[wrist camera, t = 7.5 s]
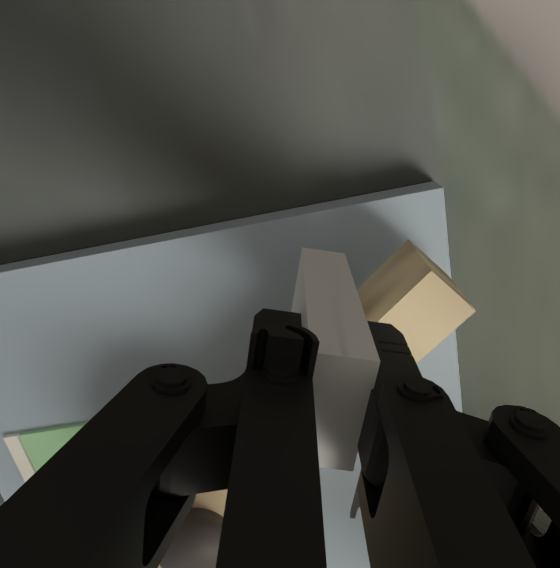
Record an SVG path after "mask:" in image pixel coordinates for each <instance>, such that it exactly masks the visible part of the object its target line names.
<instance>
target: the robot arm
mask: <svg viewBox="0 0 560 568" xmlns="http://www.w3.org/2000/svg"><path fill="white" fill-rule="evenodd" d="M358 452H359V457H360V463H361V471H360V475H359V479H358V483H357V487H356V490H355V494H354V498H353V502H352V506H351V511H350V518H354V519H355V517H356V513H357V510H358V508H359V507H360V510H361V516H362V522H363V527H364V533H365V539H366V545H367V551H368V557H369V562H370V568H560V427H559V426H558V425H557V424H555V423H554V422H552V421H551V420H550V419H548V418H547V417H545V416H543V415H541V414H539V413H537V412H536V411H535V410H532V409H529V408H526V407H522V406H513V405H503V406H498V407H496V408H495V409H494V410H493V411H492V413H491V416H490V419H489V421H486V420H483V419H480V418H476V417H473V416H470V415H467V414H464V413H461V412H459V411H456V409H455V407H454V405H453V403H452V402H451V400H450V398H449V396H448V395H447V393H446V392H445V391H444V390H443V388H441V387H440V386H438V385H437V384H435V383H434V382H432V381H430V380H428V379H425V378H423V377H422V375H421V373H420V370H419V368H418V366H417V364H416V362H415V359H414V357H413V356H412V353H411V351H410V348H409V347H408V344H407V342H406V340H405V338H404V335H403V334H402V333H401V332H400V331H399V330H398V329H396V328H395V327H394V326H393V325H392V324H388V323H380V322H373V321H367V319H366V316H365V313H364V310H363V307H362V304H361V301H360V298H359V295H358V292H357V289H356V286H355V283H354V280H353V277H352V274H351V271H350V268H349V265H348V262H347V259H346V256H345V253H338V252H331V251H324V250H317V249H310V248H303V247H302V249H301V255H300V261H299V267H298V274H297V280H296V286H295V292H294V298H293V304H292V310H291V312H288V311H280V310H273V309H265V308H263V309H262V310H261V311H259V312H258V313H257V314H256V315H255V316H254V321H253V328H252V332H251V336H250V343H249V351H248V358H247V366H246V369H245V371H244V373H243V374H242V375H241V376H239V377H237V378H236V379H234V380H231V381H228V382H223V383H217V384H207V381H206V378H205V376H204V375H203V374H202V373H200V372H199V371H198V370H196V369H194V368H192V367H189V366H187V365H181V364H176V363H169V364H168V363H165V364H158V365H155V366H151V367H148V368H146V369H144V370H143V371H141V372H140V373H138V374H137V375H136V376H135V377H134V378H133V379H132V380H131V381H130V382H129V383H128V384H127V385H126V386H125V387H124V388H123V389H122V390H121V391H119V392H118V393H117V394H116V395H115V396H114V397H113V398H112V399H111V400H110V401H109V402H108V403H107V404H106V405H105V406H104V407H103V408H102V409H101V410H100V411H99V412H98V413H97V414H96V415H95V416H94V417H93V418H91V419H90V420H89V421H88V422H87V423H86V424H85V425H84V426H83V427H82V428H81V429H80V430H79V431H78V432H77V433H76V434H75V435H74V436H73V437H72V438H71V439H70V440H69V441H68V442H67V443H66V444H65V445H63V446H62V447H61V448H60V449H59V450H58V451H57V452H56V453H55V454H54V455H53V456H52V457H51V458H50V459H49V460H48V461H47V462H46V463H45V464H44V465H43V466H42V467H41V468H40V469H39V470H38V471H37V472H35V473H34V474H33V475H32V476H31V477H30V478H29V479H28V480H27V481H26V482H25V483H24V484H23V485H22V486H21V487H20V488H19V489H18V490H17V491H16V492H15V493H14V494H13V495H12V496H11V497H10V498H9V499H7V500H6V501H5V502H4V503H3V504H2V505H1V506H0V568H158V566H159V564H160V563H161V561H162V559H163V557H164V556H165V554H166V552H167V550H168V548H169V547H170V545H171V543H172V541H173V540H174V538H175V536H176V534H177V532H178V531H179V529H180V527H181V525H182V524H183V522H184V520H185V518H186V516H187V515H188V513H189V511H190V509H191V508H192V506H193V504H194V501H195V498H196V494H199V493H206V492H213V491H219V490H226V489H228V490H227V496H226V503H225V509H224V516H223V522H222V529H221V535H220V542H219V548H218V555H217V561H216V568H327V563H326V550H325V537H324V523H323V510H322V497H321V484H320V470H319V467H320V468H328V469H337V470H345V471H353V470H354V466H355V462H356V458H357V454H358ZM539 506H540V507H541V508H542V509H543V511H544V512H545V513H546V514H547V515H548V516H549V517H550V519H551V520H552V521H551V524H550V526H549V528H548V530H547V532H546V533H545V535H544V534H542V533H541V532H540V531H539V530H537V528H536V527H535V526H534V525H533V523H532V522H533V520H534V517H535V515H536V513H537V511H538V508H539Z"/></svg>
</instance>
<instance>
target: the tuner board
mask: <svg viewBox="0 0 560 568" xmlns="http://www.w3.org/2000/svg"><path fill="white" fill-rule="evenodd" d="M408 239H409V240H410V241H411V242H412V243H414V244H415V245H416V246H417V247H418V248H419V249H420V250H421V251H422V252H423V253H425V254H426V255H427V256H428V257H429V258H430V259H431V260H432V261H433V262H434V263H436V264H437V265H438V266H439V267H440V268H441V269H442V270H443V271H444V272H445V273H446V274H447V275H448V276H449V277H450V279H451V272H450V260H449V248H448V236H447V224H446V213H445V201H444V189H443V187H442V186H440V185H439V184H438V183H436V182H435V181H432V182H427V183H421V184H416V185H411V186H406V187H401V188H396V189H390V190H385V191H380V192H375V193H370V194H365V195H359V196H354V197H349V198H344V199H339V200H334V201H328V202H323V203H318V204H313V205H308V206H303V207H297V208H292V209H287V210H282V211H277V212H272V213H266V214H261V215H256V216H251V217H246V218H241V219H235V220H230V221H225V222H220V223H215V224H210V225H204V226H199V227H194V228H189V229H184V230H179V231H173V232H168V233H163V234H158V235H153V236H148V237H142V238H137V239H132V240H127V241H122V242H117V243H111V244H106V245H101V246H96V247H91V248H86V249H80V250H75V251H70V252H65V253H60V254H55V255H49V256H44V257H39V258H34V259H29V260H24V261H18V262H13V263H8V264H3V265H0V493H1V495H2V497H3V499H4V501H6V500H7V499H9V498H10V497H11V496H12V495H13V494H14V493H15V492H16V491H17V490H18V489H19V488H20V487H21V486H22V485H23V484H24V483H25V482H26V481H27V480H28V479H29V478H30V477H31V476H32V475H33V474H34V473H35V472H37V471H38V470H39V469H40V468H41V467H42V466H43V465H44V464H45V463H46V462H47V461H48V460H49V459H50V458H51V457H52V456H53V455H54V454H55V453H56V452H57V451H58V450H59V449H60V448H61V447H62V446H63V445H65V444H66V443H67V442H68V441H69V440H70V439H71V438H72V437H73V436H74V435H75V434H76V433H77V432H78V431H79V430H80V429H81V428H82V427H83V426H84V425H85V424H86V423H87V422H88V421H89V420H90V419H91V418H93V417H94V416H95V415H96V414H97V413H98V412H99V411H100V410H101V409H102V408H103V407H104V406H105V405H106V404H107V403H108V402H109V401H110V400H111V399H112V398H113V397H114V396H115V395H116V394H117V393H118V392H119V391H121V390H122V389H123V388H124V387H125V386H126V385H127V384H128V383H129V382H130V381H131V380H132V379H133V378H134V377H135V376H136V375H137V374H138V373H140V372H141V371H143V370H144V369H146V368H148V367H151V366H155V365H158V364H165V363H168V364H169V363H176V364H181V365H187V366H189V367H192V368H194V369H196V370H198V371H199V372H200V373H202V374H203V375H204V376H205V378H206V381H207V384H217V383H223V382H228V381H231V380H234V379H236V378H237V377H239V376H241V375H242V374H243V373H244V371H245V369H246V366H247V358H248V351H249V343H250V336H251V332H252V328H253V321H254V316H255V315H256V314H257V313H258V312H259V311H261V310H262V309H263V308H265V309H273V310H280V311H288V312H291V310H292V304H293V298H294V292H295V286H296V280H297V274H298V267H299V261H300V255H301V249H302V247H303V248H310V249H317V250H324V251H331V252H338V253H345V256H346V259H347V262H348V265H349V268H350V271H351V274H352V277H353V280H354V283H355V286H356V289H358V288H359V287H360V286H361V285H362V284H363V283H364V282H365V281H366V280H367V279H368V278H369V277H370V276H371V275H372V274H373V273H374V272H375V271H376V270H377V269H378V268H379V267H380V266H381V265H383V264H384V263H385V262H386V261H387V260H388V259H389V258H390V257H391V256H392V255H393V254H394V253H395V252H396V251H397V250H398V249H399V248H400V247H401V246H402V245H403V244H404V243H405V242H406V241H407V240H408ZM416 364H417V366H418V368H419V370H420V373H421V375H422V377H423V378H425V379H428V380H430V381H432V382H434V383H435V384H437V385H438V386H440V387H441V388H443V390H444V391H445V392H446V393H447V395H448V396H449V398H450V400H451V402H452V403H453V405H454V407H455V409H456V411H459V412H461V413H462V402H461V390H460V378H459V367H458V355H457V343H456V331H455V330H454V331H453V332H452V333H450V334H449V335H448V336H447V337H446V338H445V339H444V340H442V341H441V342H440V343H439V344H438V345H437V346H436V347H435V348H433V349H432V350H431V351H430V352H429V353H428V354H427V355H425V356H424V357H423V358H422V359H421V360H420V361H419V362H418V363H416ZM319 470H320V484H321V497H322V510H323V523H324V537H325V550H326V563H327V568H370V562H369V557H368V551H367V545H366V539H365V533H364V527H363V522H362V516H361V510H360V507H359V508H358V510H357V513H356V517H355V519H354V518H350V511H351V506H352V502H353V498H354V494H355V490H356V487H357V483H358V479H359V475H360V471H361V463H360V457H359V452H358V454H357V458H356V462H355V466H354V470H353V471H345V470H337V469H328V468H320V467H319Z"/></svg>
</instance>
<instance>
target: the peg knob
mask: <svg viewBox="0 0 560 568" xmlns="http://www.w3.org/2000/svg"><path fill="white" fill-rule="evenodd" d="M357 292H358V295H359V298H360V301H361V304H362V307H363V310H364V313H365V316H366V319H367V321H373V322H380V323H388V324H392V325H393V326H394V327H395V328H396V329H398V330H399V331H400V332H401V333H402V334H403V335H404V338H405V340H406V342H407V344H408V347H409V348H410V351H411V353H412V356H413V357H414V359H415V362H416V363H418V362H419V361H420V360H421V359H422V358H423V357H424V356H425V355H427V354H428V353H429V352H430V351H431V350H432V349H433V348H435V347H436V346H437V345H438V344H439V343H440V342H441V341H442V340H444V339H445V338H446V337H447V336H448V335H449V334H450V333H452V332H453V331H454V330H455V329H456V328H457V327H458V326H459V325H461V324H462V323H463V322H464V321H465V320H466V319H467V318H468V317H470V316H471V315H472V314H473V313H474V312H475V311H476V310H475V309H474V308H473V306H472V305H471V304H470V303H469V301H468V300H467V299H466V297H465V296H464V295H463V294H462V292H461V291H460V290H459V289H458V287H457V286H456V285H455V284H454V282H453V281H452V280H451V279H450V277H449V276H448V275H447V274H446V273H445V272H444V271H443V270H442V269H441V268H440V267H439V266H438V265H437V264H436V263H434V262H433V261H432V260H431V259H430V258H429V257H428V256H427V255H426V254H425V253H423V252H422V251H421V250H420V249H419V248H418V247H417V246H416V245H415V244H414V243H412V242H411V241H410V240H409V239H408V240H407V241H406V242H405V243H404V244H403V245H402V246H401V247H400V248H399V249H398V250H397V251H396V252H395V253H394V254H393V255H392V256H391V257H390V258H389V259H388V260H387V261H386V262H385V263H384V264H383V265H381V266H380V267H379V268H378V269H377V270H376V271H375V272H374V273H373V274H372V275H371V276H370V277H369V278H368V279H367V280H366V281H365V282H364V283H363V284H362V285H361V286H360V287H359V288H358V289H357ZM227 490H228V489H226V490H219V491H213V492H206V493H199V494H196V498H195V501H194V504H193V506H192V508H191V509H190V511H189V513H188V515H187V516H186V518H185V520H184V522H183V524H182V525H181V527H180V529H179V531H178V532H177V534H176V536H175V538H174V540H173V541H172V543H171V545H170V547H169V548H168V550H167V552H166V554H165V556H164V557H163V559H162V561H161V563H160V564H159V566H158V568H216V561H217V555H218V548H219V542H220V535H221V529H222V522H223V516H224V509H225V503H226V496H227Z"/></svg>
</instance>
